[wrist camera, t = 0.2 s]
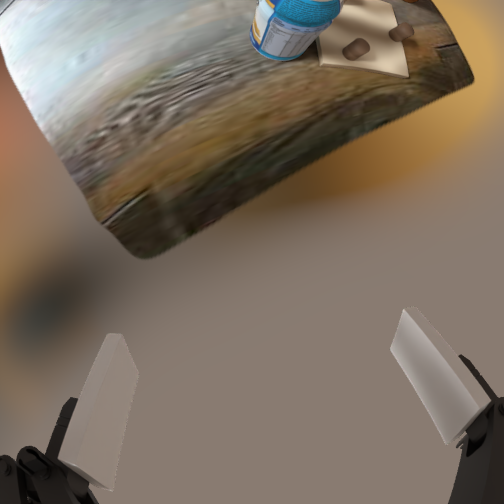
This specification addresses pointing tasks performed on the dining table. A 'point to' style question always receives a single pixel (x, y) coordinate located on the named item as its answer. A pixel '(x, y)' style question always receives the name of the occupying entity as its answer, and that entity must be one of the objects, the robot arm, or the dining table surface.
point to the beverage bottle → (290, 25)
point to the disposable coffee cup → (410, 1)
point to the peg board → (365, 39)
